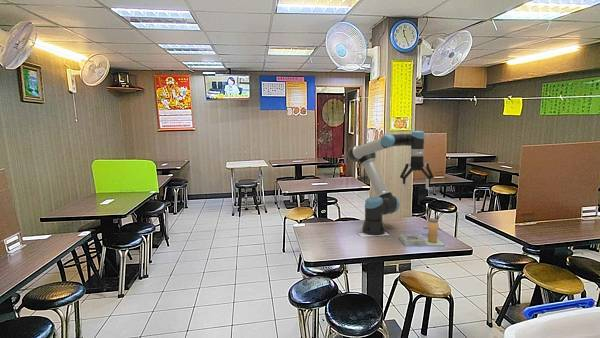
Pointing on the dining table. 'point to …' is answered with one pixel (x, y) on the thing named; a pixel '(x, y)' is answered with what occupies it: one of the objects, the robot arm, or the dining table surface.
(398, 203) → the robot arm
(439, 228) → the pipe connector
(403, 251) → the dining table surface
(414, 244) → the housing
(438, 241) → the mat
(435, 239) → the orange tall cylinder
